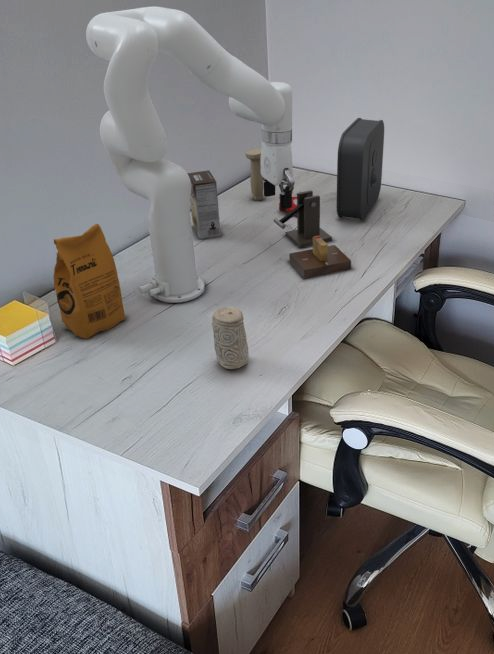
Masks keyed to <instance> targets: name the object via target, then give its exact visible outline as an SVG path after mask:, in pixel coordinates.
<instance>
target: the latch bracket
mask: <svg viewBox="0 0 494 654" xmlns="http://www.w3.org/2000/svg"><path fill="white" fill-rule="evenodd" d="M308 193H309V194H310V195H312V197H306V198H304V208H303V209H302V210H300V211H299V212H298V213H297V215H296V219H297V220H296V221H297V225H296V226H297V227H296V229H292V230H288V231H285V232H284V233H285V234H284V235H285V237H286V238H287V239H288V240H289V241H291V242H292V243H293V244H294V245H296V247H298V248H299V249H304V248H308V247H311V246H312V247H313V236H318V235H319V236H320V237H321V238H322V239H323V240H324V241H325V242H326V243H330V242H333V236H331V235H330V234H329V233H328V232H326V231H325V230H324V229H322V228H321V196H320V195H318V194H317V195H314V191H313V190H306V191H301V192H300V193H299V192H297V193H296V197H297V206H298V205H300V204H301V203H302V201H301V199H302V198H303V197H304V196H306V195H307V194H308Z"/></svg>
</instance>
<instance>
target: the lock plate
mask: <svg viewBox="0 0 494 654" xmlns="http://www.w3.org/2000/svg"><path fill="white" fill-rule="evenodd" d="M288 255H289V256H288V257H289V258H288V259H289V263H290V264H291V266H293V268H294V269H295V270H296V271H297V273H298V274H300V276H301V278H303V279H304V280H305V279H309V278H314V277H319V276H325V275H329V274H334V273H341V272H344V271H349V270H352V260H351V259H350V258H349V256H347V255H346V254H345V253H344V252H343V251H342V250H341V249H340V248H339V247H338V246H337V245H336V244H332V245H328V258H327V261H322V262H321V261H320V260H319V259H318V258H317V257H316V256H315V255H314V254H313V248H311V249H306V250H300V251H294V252H290V253H289V254H288Z"/></svg>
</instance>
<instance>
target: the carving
mask: <svg viewBox="0 0 494 654" xmlns="http://www.w3.org/2000/svg"><path fill="white" fill-rule="evenodd" d="M244 319H245V317H244V314H243V312H242V310H241V309H239V308H238V307H235V306H226V307H221V308H218V309H216V310H215V311H214V312H213V314H212V316H211V326H212V334H213V344H214V351H215V355H216V359H217V362H218V363H219V365H220V366H221V367H223V368H224V369H227V370H235V369H240V368H242V367H244V366H245V365H246V364H247V363H248V362H249V345H248V339H247V333H246V329H245V325H244V324H245V323H244Z"/></svg>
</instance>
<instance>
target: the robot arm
mask: <svg viewBox="0 0 494 654" xmlns="http://www.w3.org/2000/svg"><path fill="white" fill-rule="evenodd" d="M85 39H86V43H87V45H88V48H89V49H90V50H91V52H92V53H93V54H94V55H95V56H96V57H98V58H100V59H101V60H104V61H107V62H109V63H108V66H107V70H106V73H105V76H104V80H103V95H104V99H105V103H106V105H107V108H108V110H107V111H106V112H105V113H104V115H103V116H102V117H101V120H100V124H99V137H100V141H101V143H102V146H103V149H104V150H105V152H106V155H107V157H108V159H109V161H110V162H111V164H112V167H113V169H114V171H115V173H116V174H117V176H118V179H119V181H121V184H122V185H123V186H124V187H125V188H126V189H127V190H128V191H129V192H131V193H133V194H135V195H137V196H139V197H141V198H144V199H145V200H147V201H149V203H150V209H149V213H148V216H147V226H148V227H147V228H148V233H149V240H150V245H151V246H150V247H151V252H152V259H153V265H154V273H155V275H152V276H151V281H149V283H146V284H143V285H141V286H139V287H138V288H137V289H138V292H139V294H140V295H142V296H143V295H146V294H149V295H150V296H151V297H153V298H155V299H156V300H158V301H161V302H164V303H173V304H175V303H176V304H177V303H185V302H189V301H192V300H194V299H197V298H198V297H200V296H201V295H202V294H203V293H204V292H205V286H206V285H205V282H204V280H203V279H202V278H201V277H199V276H198V275H197V274H198V273H197V265H196V256H195V247H194V238H193V237H194V236H193V229H192V221H191V220H192V218H191V203H190V198H191V181H190V178H189V176H188V174H187V173H188V172H187V171H186V170H185V169H184V168H183V167H182V166H180V165H179V164H177V163H175V162H172V161H171V160H168V159H165V158H164V157H165V156H166V154H167V153H168V148H169V147H168V146H169V145H168V144H169V143H168V138H167V135H166V132H165V129H164V127H163V125H162V122H161V120H160V117H159V115H158V113H157V110H156V108H155V106H154V103H153V100H152V98H151V94H150V90H149V76H150V73H151V71H152V68H153V66H154V64H155V62H156V59H157V56H158V54H159V53H163V54H167V55H169V57H171V58H173V59H174V60H175V61H176V62H178V63H179V64H180V65H181V66H182V67H183V68H184V69H185V70H186V71H188V72H189V73H190V74H191V75H192V76H194V78H196V79H197V80H198V81H199V82H200V83H201V84H202V85H204V86H205V87H207V88H209V89H211V90H212V91H215V92H216V93H219V94H222V95H223V96H224V95H225V96H227V97H228V106H229V108H230V111H231V112H232V114H234V115H235V116H236V117H238V118H240V119H243V120H246V121H250V122H255V123H258V124H261V147H260V149H261V175H262V177H263V197H264V198H268V197H274V196H276V187H277V186H278V188H279V190H280V193H279V203H280V209H287V208H291V207H292V197H293V193H294V189H295V188H294V187H295V183H296V181H295V179H294V176H293V174H294V173H293V169H294V168H293V153H292V143H293V89H292V87H291V85H290V84H289V83H287V82H282V81H269V80H268V79H267V78H265V76H263V75H262V74H260V73H259V72H258V71H256V70H254V69H253V68H252V67H250V66H248V65H247V64H245V62H243V61H241V60H240V59H239V58H237V57H236V56H234V55H233V54H231V53H230V52H228V50H226V49H225V48H224V47H223V46H222V45H221V44H220V43H219V42H218V41H217V40H216V39H215V38H214V37H213V36H212V35H211V34H210V33H208V31H207V30H206V29H205V28H204V27H203V26H202V25H201V24H200V23H199V22H197V20H195V18H193V16H191V15H190V14H189V13H187V12H184V11H183V10H179V9H174V8H170V7H169V8H168V7H164V6H163V7H162V6H143V7H136V8H131V9H123V10H115V11H107V12H101V13H98V14H96V15H95V16H93V17H92V18H91V20H90V21H89V22H88V24H87V26H86V30H85ZM284 186H285V187H284ZM280 209H279V210H280Z"/></svg>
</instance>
